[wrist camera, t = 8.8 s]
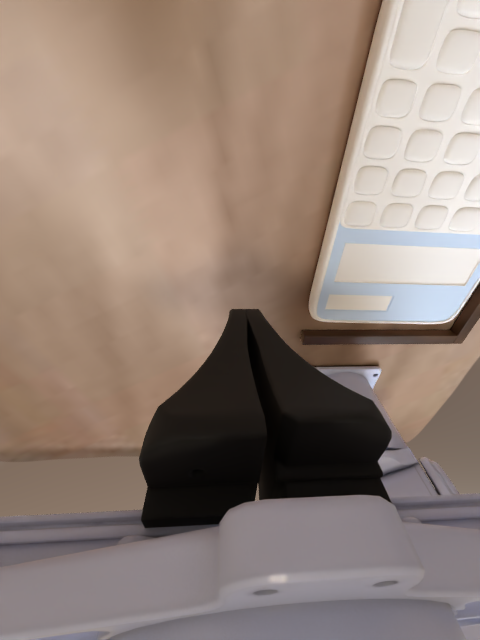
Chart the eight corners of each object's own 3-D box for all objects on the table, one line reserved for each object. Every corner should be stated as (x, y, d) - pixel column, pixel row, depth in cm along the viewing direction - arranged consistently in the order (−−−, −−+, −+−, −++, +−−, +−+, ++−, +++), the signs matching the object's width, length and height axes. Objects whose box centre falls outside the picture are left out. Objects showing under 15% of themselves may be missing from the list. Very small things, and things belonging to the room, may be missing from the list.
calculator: (639, -12, 13) (696, -33, 11) (440, 316, 24) (455, 328, 23) (389, -46, 12) (414, -74, 10) (303, 313, 23) (309, 325, 22)
